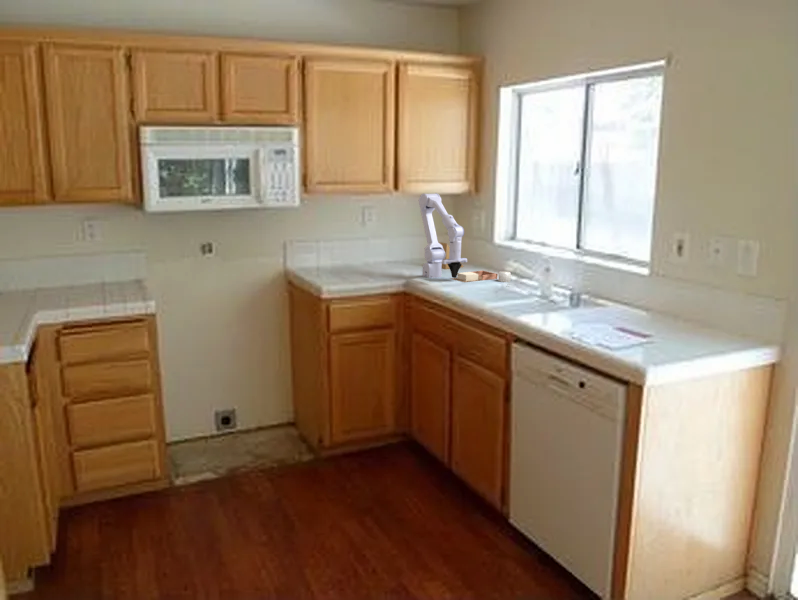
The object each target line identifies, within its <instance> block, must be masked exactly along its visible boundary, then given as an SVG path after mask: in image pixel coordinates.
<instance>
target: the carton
mask: <svg viewBox="0 0 798 600" xmlns="http://www.w3.org/2000/svg"><path fill="white" fill-rule="evenodd" d="M472 272H473V271H465V272H458V274H457V277H456V278H457V279H460V280H464V281H472V280H478V274H476V273H472Z"/></svg>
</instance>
